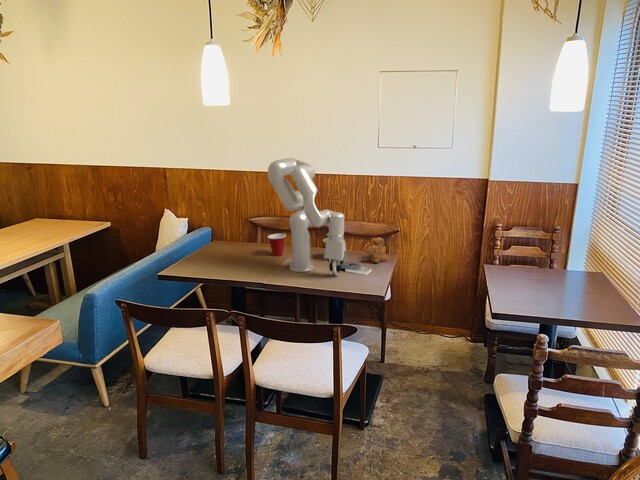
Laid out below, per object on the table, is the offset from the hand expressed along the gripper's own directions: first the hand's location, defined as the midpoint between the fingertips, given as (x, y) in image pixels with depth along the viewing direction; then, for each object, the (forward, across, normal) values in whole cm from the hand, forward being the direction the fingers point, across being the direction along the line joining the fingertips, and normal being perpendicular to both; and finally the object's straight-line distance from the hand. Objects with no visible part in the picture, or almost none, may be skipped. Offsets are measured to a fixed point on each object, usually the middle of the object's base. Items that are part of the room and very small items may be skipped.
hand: (335, 270), depth 249 cm
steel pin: (+2, 0, 0) cm, 2 cm away
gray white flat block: (+3, +5, +12) cm, 13 cm away
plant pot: (+3, -13, +25) cm, 28 cm away
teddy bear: (+3, +11, +33) cm, 34 cm away
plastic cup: (+4, -46, +17) cm, 49 cm away
